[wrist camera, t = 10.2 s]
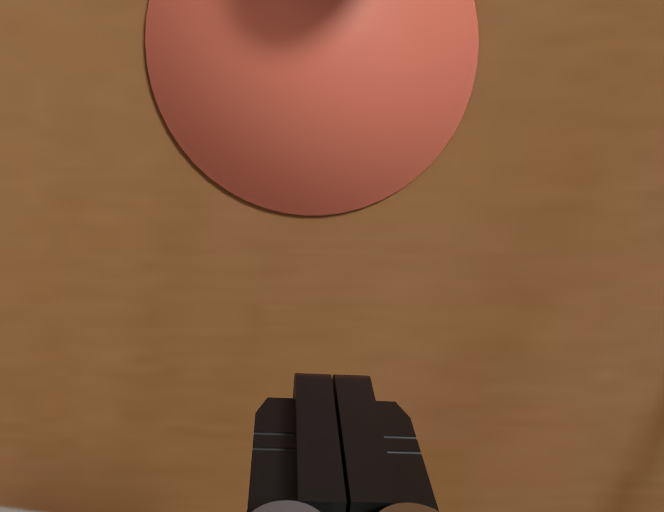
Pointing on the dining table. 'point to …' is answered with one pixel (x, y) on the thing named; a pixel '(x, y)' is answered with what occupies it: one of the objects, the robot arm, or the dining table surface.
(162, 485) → the dining table surface
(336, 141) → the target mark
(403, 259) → the dining table surface
